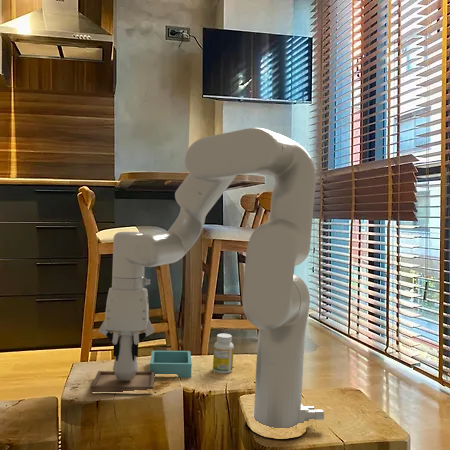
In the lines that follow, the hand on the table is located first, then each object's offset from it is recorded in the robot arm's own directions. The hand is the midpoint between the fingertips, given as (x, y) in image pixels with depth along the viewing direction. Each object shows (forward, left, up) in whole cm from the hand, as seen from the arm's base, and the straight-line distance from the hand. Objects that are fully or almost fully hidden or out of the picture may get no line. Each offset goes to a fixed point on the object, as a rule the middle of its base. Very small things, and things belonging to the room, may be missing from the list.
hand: (125, 358), depth 117 cm
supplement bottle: (-25, -11, -7) cm, 28 cm away
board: (0, 0, -7) cm, 7 cm away
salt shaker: (0, 0, -5) cm, 5 cm away
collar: (-11, -11, -7) cm, 17 cm away
